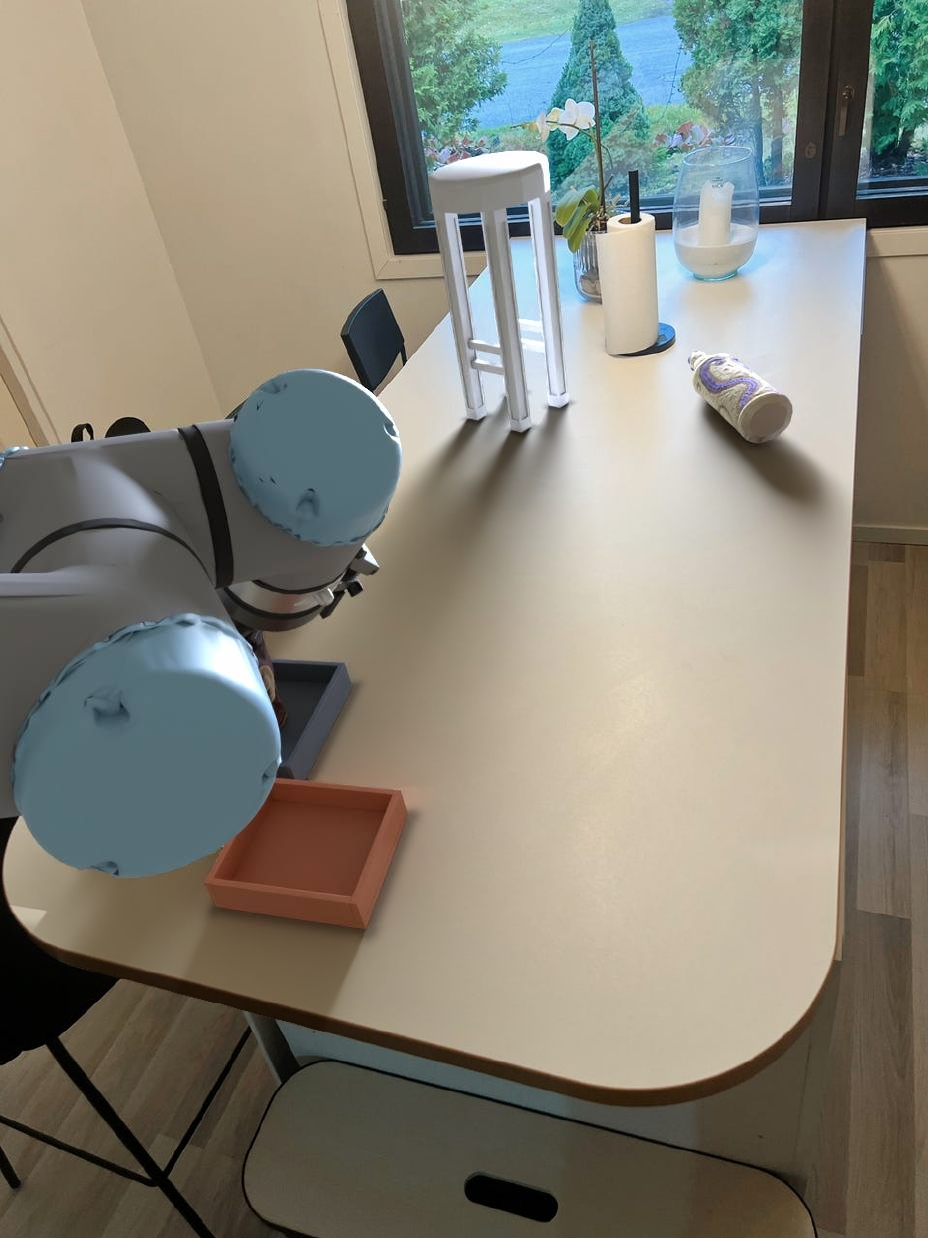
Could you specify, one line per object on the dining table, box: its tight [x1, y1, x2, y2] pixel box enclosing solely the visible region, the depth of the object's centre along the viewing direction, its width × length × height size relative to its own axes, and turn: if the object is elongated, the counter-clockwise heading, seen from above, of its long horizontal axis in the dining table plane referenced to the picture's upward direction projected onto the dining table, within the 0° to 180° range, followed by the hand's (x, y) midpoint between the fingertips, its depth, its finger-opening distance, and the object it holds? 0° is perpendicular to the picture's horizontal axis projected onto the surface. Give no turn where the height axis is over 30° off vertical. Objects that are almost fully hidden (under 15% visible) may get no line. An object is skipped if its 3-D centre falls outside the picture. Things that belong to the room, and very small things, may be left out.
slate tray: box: [271, 658, 353, 781], centre depth 86 cm, size 15×14×3 cm
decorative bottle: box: [687, 350, 794, 444], centre depth 124 cm, size 26×8×7 cm, turn 10°
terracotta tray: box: [203, 778, 409, 930], centre depth 72 cm, size 13×11×3 cm
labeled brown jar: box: [236, 626, 287, 729], centre depth 83 cm, size 9×8×13 cm
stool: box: [427, 150, 570, 433], centre depth 126 cm, size 16×16×35 cm
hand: (246, 643), depth 70 cm, fingers open, 13 cm apart
